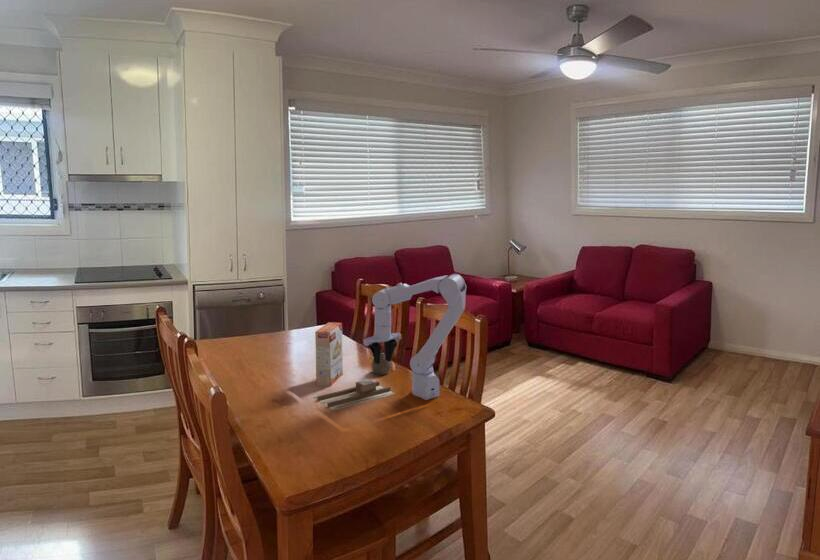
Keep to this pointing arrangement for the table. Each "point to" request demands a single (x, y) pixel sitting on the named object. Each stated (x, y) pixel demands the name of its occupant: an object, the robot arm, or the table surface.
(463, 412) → the table surface
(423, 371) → the robot arm
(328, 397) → the birch board
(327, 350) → the cracker box
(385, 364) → the vase
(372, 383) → the block
